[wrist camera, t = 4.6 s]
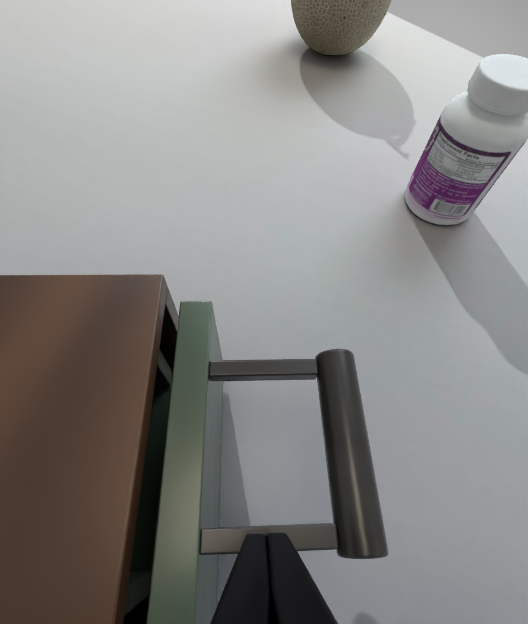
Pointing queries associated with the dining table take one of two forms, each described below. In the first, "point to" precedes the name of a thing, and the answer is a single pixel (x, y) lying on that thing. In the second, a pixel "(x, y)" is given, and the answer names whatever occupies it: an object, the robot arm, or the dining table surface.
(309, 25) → the fruit
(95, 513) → the storage unit
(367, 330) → the dining table surface
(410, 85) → the dining table surface
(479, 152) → the pill bottle
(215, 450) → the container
